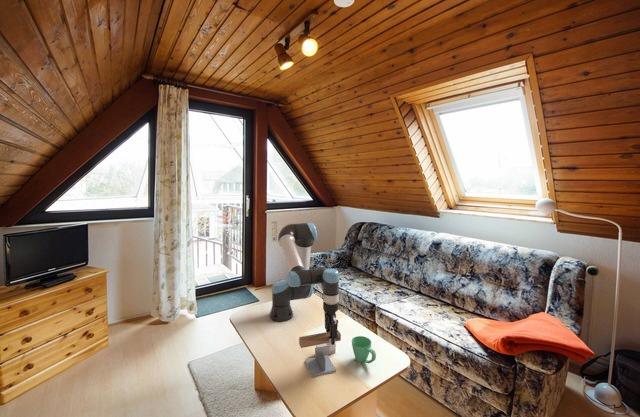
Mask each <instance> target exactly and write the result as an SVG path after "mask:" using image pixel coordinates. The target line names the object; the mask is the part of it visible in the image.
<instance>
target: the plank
mask: <svg viewBox="0 0 640 417" xmlns="http://www.w3.org/2000/svg"><path fill="white" fill-rule="evenodd" d="M341 335H342V334H341V332H340V330H338V329H337V338H336V339H335V343H336V342H340V341H341V340H342V339H341V338H342V336H341ZM329 337H330V332H326V331H324V332H321V333H314V334H310V335H309V334H308V335H304V336H299V337H298V339H299V340H298V343H299V344H298V345H299V346H300V349H303V348H308V347H309V348H310V347H314V346H315V347H316V345H320V344H325V343H329Z"/></svg>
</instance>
